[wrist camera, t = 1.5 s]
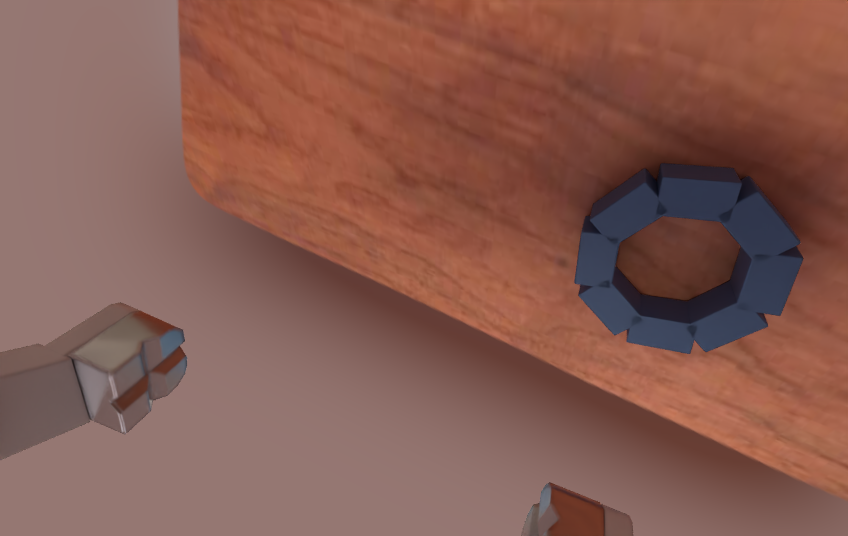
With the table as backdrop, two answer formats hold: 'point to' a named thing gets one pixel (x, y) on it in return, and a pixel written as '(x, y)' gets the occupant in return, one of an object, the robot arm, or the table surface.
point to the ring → (709, 312)
